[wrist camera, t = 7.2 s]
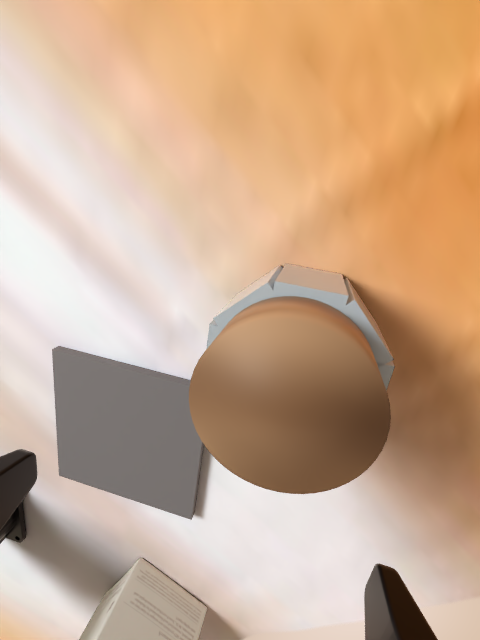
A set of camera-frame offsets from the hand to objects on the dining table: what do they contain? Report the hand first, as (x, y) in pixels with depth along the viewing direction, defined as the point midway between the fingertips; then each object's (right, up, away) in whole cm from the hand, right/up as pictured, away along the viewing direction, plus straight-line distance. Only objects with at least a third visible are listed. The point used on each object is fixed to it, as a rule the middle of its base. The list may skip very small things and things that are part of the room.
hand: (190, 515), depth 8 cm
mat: (-7, -3, +15) cm, 17 cm away
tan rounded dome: (+3, +3, +6) cm, 7 cm away
